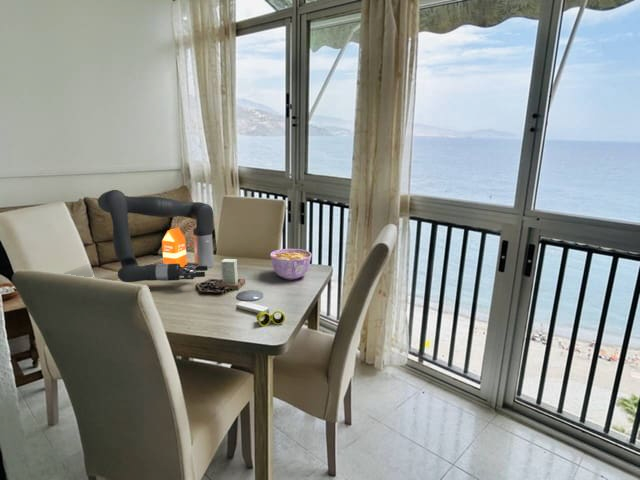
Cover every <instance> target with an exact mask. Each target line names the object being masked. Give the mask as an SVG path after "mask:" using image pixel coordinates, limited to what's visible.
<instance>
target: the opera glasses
mask: <svg viewBox="0 0 640 480" xmlns="http://www.w3.org/2000/svg"><path fill="white" fill-rule="evenodd" d="M278 313H279V314H280V315H281V316H280V317H279V318H277V317H275V314H278ZM263 316H264V318H263V319H262V320H261V318H262V317H263ZM256 320H257V322H258V324H259V325H260V326H261V327H267V326H268V325H269V324H270V323H271V321H272V323H273V324H275V325H281V324H283V323H284V322H285V320H286V316H285V313H284V312H283V311H281V310H275V311H274V312H273V313H272V314H270V313H268V312H265V311H264V312H262V311H261V312H259V313H257V315H256Z"/></svg>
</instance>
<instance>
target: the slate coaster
mask: <svg viewBox="0 0 640 480" xmlns="http://www.w3.org/2000/svg"><path fill="white" fill-rule="evenodd" d="M263 297H264V293H263V292H262V291H260V290H255V289H249V290H243V291H240V292H238V293H237V294H236V299H238V300H239V301H242V302H256V301H259V300H261V299H263Z"/></svg>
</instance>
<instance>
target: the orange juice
mask: <svg viewBox="0 0 640 480" xmlns="http://www.w3.org/2000/svg"><path fill="white" fill-rule="evenodd" d="M161 247H162V258H163V264H172V263H179V264H180V266H181V267H184V266H185V265H186V264H187V262H188V260H187V247H186V237H185V235H184V234H183V233H182V231H181V229H180V228H179V227H175V228H172V229H169V230H167V231H166V233H165V235H164V236H163V238H162V240H161Z"/></svg>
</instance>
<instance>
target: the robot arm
mask: <svg viewBox="0 0 640 480" xmlns="http://www.w3.org/2000/svg"><path fill="white" fill-rule="evenodd" d="M97 205H98V207H99V208H100V210H102V211H103V212H106V213H109V214H110V217H111V221H112V243H113V249H114V253H115V257H116V259H117V260H118V261H119V262H120V264H121V267H120V269H119V270H117V278H118V279H119V280H120V281H121V282H124V283H137V282H143V281H163V282H164V281H165V282H167V281H171V282H172V281H173V282H174V281H180V280H194V279H196V278H205V277H206V272H205V271H207V272H208V270H209V269H211V268H212V267H214V245H213V244H214V243H213V230H214V210H213V207H212V206H211V205H210V204H207V203H205V202H199V201H192V202H191V201H188V202H186V201H179V200H175V199H172V198H168V197H161V196H128V195H127V196H126V195H125V194H124V192H122V191H121V190H119V189H112V190H111V189H110V190H108V191H106V192H104V193H102V194H101V195H99V197H98V198H97ZM128 214H135V215H137V214H138V215H142V216H149V217H155V218H156V217H157V218H175V217H181V218H186V219H192V220H195V221H196V226H195V228H193V230H192V233H193V234H192V235H193V250H194V264H193V263H190V264H189V263H188V264H186V265H185V266H184V267H181V266H180V264H179V263H172V264H164V263H158V264H157V263H156V264H155V263H154V264H146V265H145V264H144V265H139V263H138V260H137V259H136V257H135V254H134V248H133V243H132V240H131V234H130V228H129V227H130V226H129V217H128Z"/></svg>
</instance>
